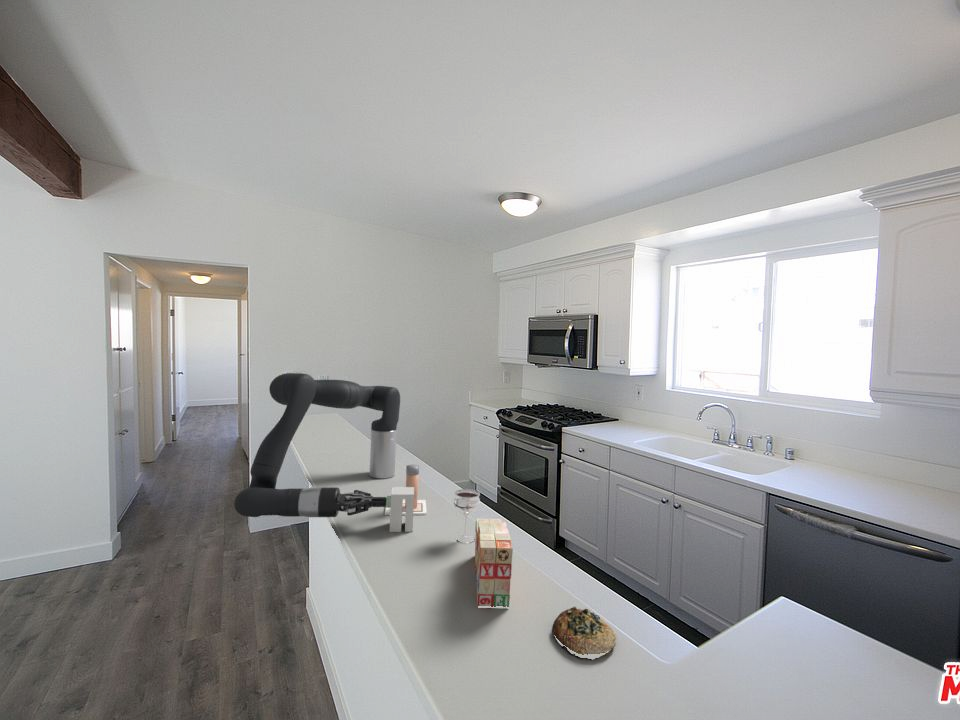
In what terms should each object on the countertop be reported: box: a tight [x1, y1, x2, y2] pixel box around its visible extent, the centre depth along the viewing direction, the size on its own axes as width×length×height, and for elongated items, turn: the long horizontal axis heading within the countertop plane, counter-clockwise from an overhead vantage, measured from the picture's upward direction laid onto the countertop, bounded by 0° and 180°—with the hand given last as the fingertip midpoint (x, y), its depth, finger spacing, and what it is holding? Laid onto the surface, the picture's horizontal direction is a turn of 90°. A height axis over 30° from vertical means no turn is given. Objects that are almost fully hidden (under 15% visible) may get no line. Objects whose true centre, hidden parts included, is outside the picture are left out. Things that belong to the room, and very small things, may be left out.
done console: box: [389, 486, 414, 533], centre depth 120 cm, size 6×6×10 cm
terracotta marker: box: [404, 464, 420, 509], centre depth 133 cm, size 4×4×12 cm
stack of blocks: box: [474, 518, 514, 608], centre depth 95 cm, size 21×6×12 cm, turn 2°
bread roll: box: [551, 606, 617, 655], centre depth 77 cm, size 11×11×5 cm
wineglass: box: [453, 488, 481, 544], centre depth 114 cm, size 7×7×12 cm
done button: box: [385, 495, 391, 509], centre depth 120 cm, size 3×4×3 cm
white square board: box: [384, 499, 428, 516], centre depth 134 cm, size 11×12×1 cm
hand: (386, 501), depth 119 cm, fingers closed
